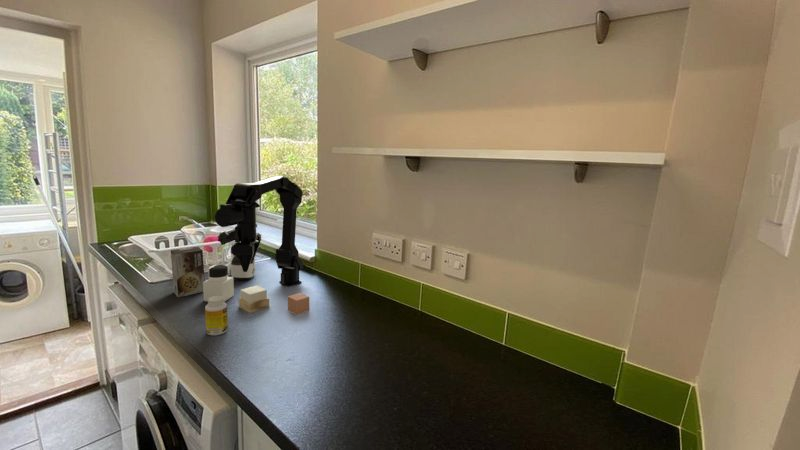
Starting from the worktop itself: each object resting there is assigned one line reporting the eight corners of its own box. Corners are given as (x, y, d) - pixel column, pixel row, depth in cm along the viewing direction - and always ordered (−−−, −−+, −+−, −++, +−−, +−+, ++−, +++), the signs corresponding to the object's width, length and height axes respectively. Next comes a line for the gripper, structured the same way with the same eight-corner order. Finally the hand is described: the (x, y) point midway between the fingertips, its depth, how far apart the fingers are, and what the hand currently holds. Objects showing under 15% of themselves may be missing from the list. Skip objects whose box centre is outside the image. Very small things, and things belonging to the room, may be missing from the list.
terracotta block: (300, 306, 121) (300, 292, 120) (309, 310, 118) (309, 296, 117) (287, 310, 117) (287, 296, 117) (296, 315, 114) (296, 300, 113)
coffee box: (200, 287, 134) (198, 246, 131) (205, 291, 129) (203, 249, 126) (172, 292, 127) (170, 249, 125) (177, 297, 123) (174, 253, 120)
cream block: (257, 293, 122) (256, 285, 122) (266, 298, 119) (266, 289, 118) (240, 298, 118) (240, 289, 117) (250, 303, 114) (249, 294, 113)
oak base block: (258, 302, 124) (258, 292, 123) (269, 308, 119) (269, 298, 119) (239, 307, 118) (238, 298, 118) (249, 314, 114) (249, 304, 113)
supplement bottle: (226, 335, 99) (225, 301, 97) (204, 337, 97) (202, 302, 95) (228, 326, 104) (227, 293, 103) (208, 328, 102) (206, 295, 101)
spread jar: (247, 282, 141) (246, 254, 139) (219, 281, 141) (218, 253, 139) (259, 273, 153) (259, 247, 151) (233, 272, 153) (233, 246, 151)
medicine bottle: (234, 295, 127) (233, 263, 125) (222, 303, 120) (221, 269, 118) (216, 293, 128) (214, 262, 126) (203, 301, 121) (201, 268, 119)
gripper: (227, 217, 122) (228, 260, 125) (211, 227, 104) (214, 277, 107) (260, 217, 124) (262, 259, 127) (251, 227, 107) (252, 276, 109)
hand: (248, 267), depth 118 cm, fingers open, 9 cm apart
